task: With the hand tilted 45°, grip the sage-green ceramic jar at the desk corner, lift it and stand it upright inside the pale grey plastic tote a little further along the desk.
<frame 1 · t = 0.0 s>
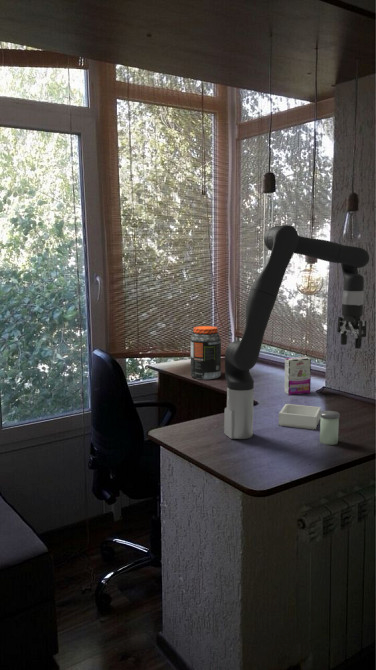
hand: (350, 346, 204), 29 cm above the worktop, tool pointing down, fingers open, 8 cm apart
candy bar box: (296, 393, 252), on the worktop
tote: (299, 422, 208), on the worktop
supplement tub: (205, 377, 285), on the worktop
jar: (328, 441, 187), on the worktop
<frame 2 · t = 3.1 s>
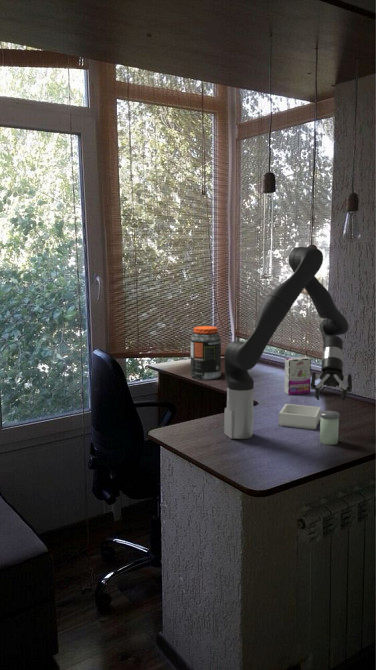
hand: (330, 399, 193), 12 cm above the worktop, tool tilted 45°, fingers open, 8 cm apart
nothing on the worktop moved.
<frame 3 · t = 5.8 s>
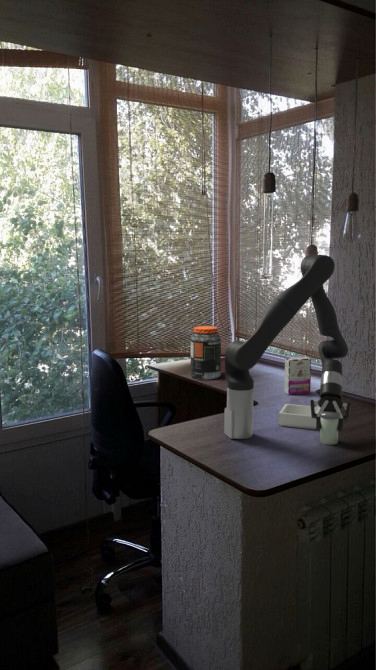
hand: (329, 429, 185), 5 cm above the worktop, tool tilted 45°, fingers closed on jar, 6 cm apart
jar: (328, 441, 187), on the worktop, touching gripper
everything else where it was.
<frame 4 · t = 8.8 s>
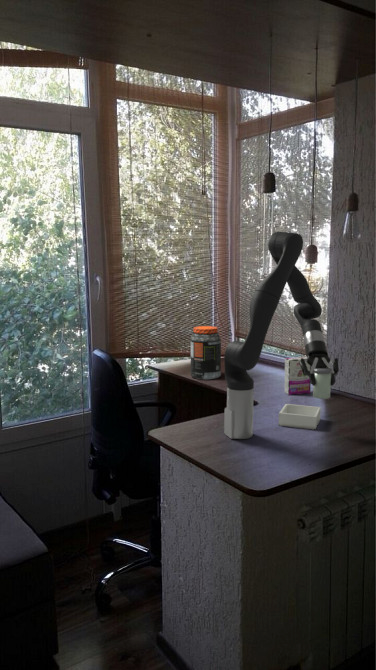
hand: (323, 384, 193), 18 cm above the worktop, tool tilted 45°, fingers closed on jar, 6 cm apart
jar: (321, 396, 195), point 13 cm above the worktop, touching gripper
everything else where it was.
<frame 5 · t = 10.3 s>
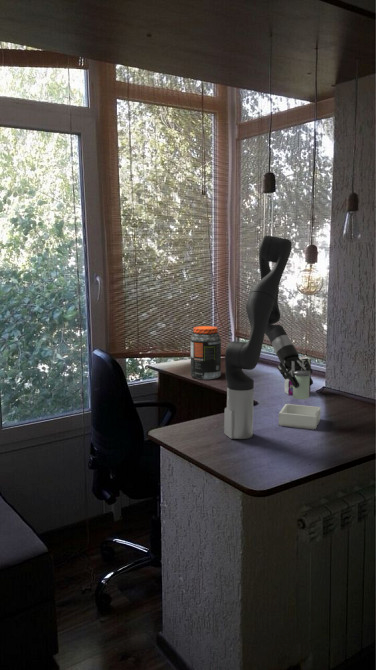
hand: (304, 385, 205), 15 cm above the worktop, tool tilted 45°, fingers closed on jar, 6 cm apart
jar: (300, 397, 207), point 10 cm above the worktop, touching gripper
everything else where it was.
when the fingers open (7 cm above the worktop, at t = 11.8 s): jar drops 1 cm, resting on tote.
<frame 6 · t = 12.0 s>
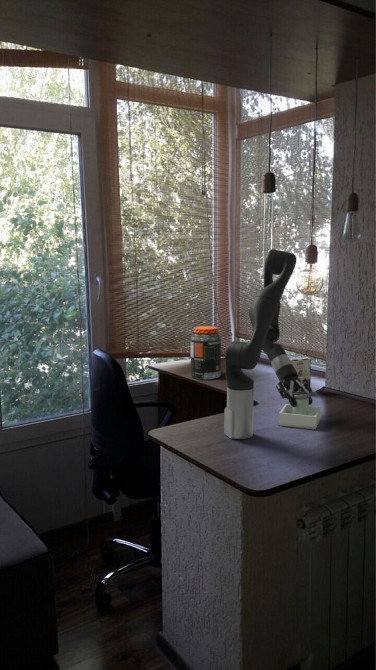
hand: (303, 405, 206), 7 cm above the worktop, tool tilted 45°, fingers open, 7 cm apart
jar: (300, 419, 209), point 1 cm above the worktop, touching gripper, tote
everything else where it was.
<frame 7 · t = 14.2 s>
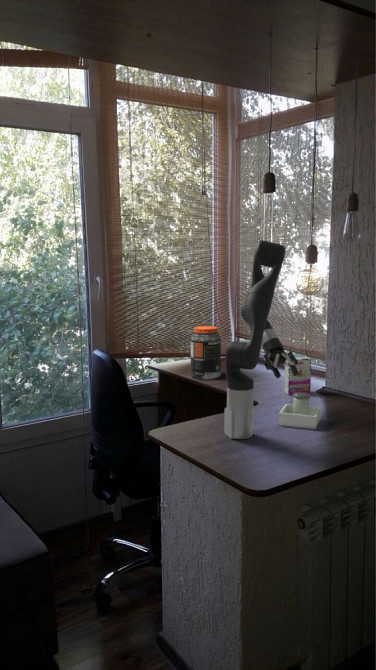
hand: (288, 376, 212), 16 cm above the worktop, tool tilted 45°, fingers open, 8 cm apart
jar: (300, 419, 209), point 1 cm above the worktop, touching tote
everything else where it was.
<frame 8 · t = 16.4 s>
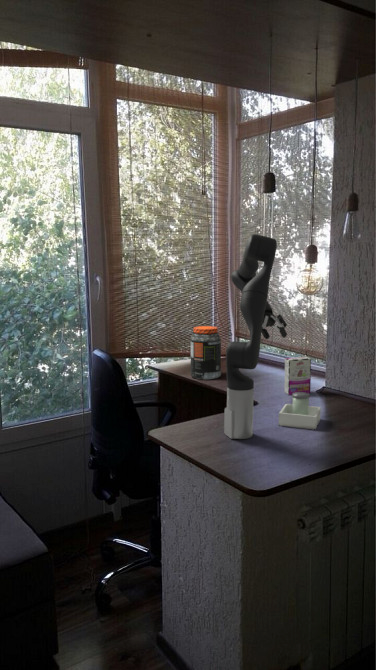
hand: (276, 337, 216), 31 cm above the worktop, tool tilted 45°, fingers open, 8 cm apart
nothing on the worktop moved.
at the end: jar inside the target area on the tote (0.6 cm from its centre), point 0.9 cm above the tote's base; jar tilted 1°; the gripper is holding nothing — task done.
